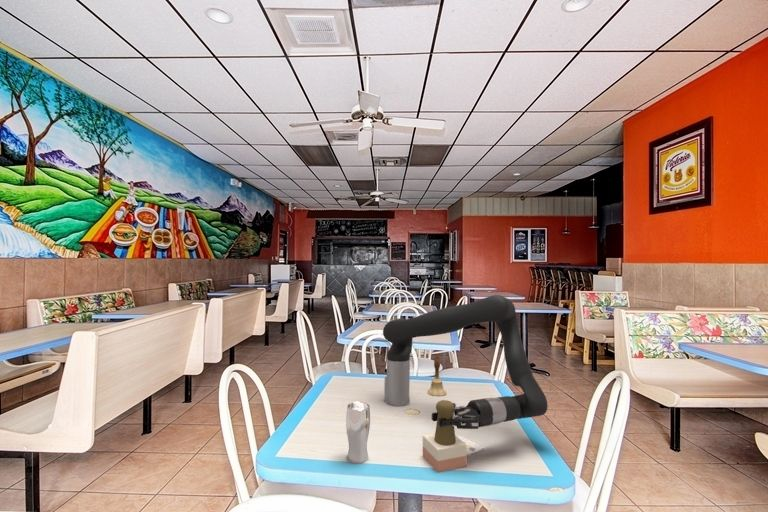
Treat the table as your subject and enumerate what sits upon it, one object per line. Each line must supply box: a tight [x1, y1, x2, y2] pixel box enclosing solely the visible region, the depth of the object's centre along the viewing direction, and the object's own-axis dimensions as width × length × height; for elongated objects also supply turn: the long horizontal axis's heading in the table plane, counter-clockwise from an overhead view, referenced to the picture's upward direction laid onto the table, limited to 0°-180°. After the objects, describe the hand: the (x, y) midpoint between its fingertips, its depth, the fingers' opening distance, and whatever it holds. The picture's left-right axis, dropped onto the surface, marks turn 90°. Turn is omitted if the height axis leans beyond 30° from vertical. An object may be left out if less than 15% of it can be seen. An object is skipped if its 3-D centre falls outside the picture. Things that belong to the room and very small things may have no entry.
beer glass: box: [345, 401, 371, 465], centre depth 111 cm, size 7×7×15 cm
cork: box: [434, 399, 456, 446], centre depth 110 cm, size 6×6×11 cm
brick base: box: [422, 433, 467, 473], centre depth 110 cm, size 9×9×6 cm
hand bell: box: [426, 355, 447, 397], centre depth 167 cm, size 8×8×16 cm
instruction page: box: [457, 435, 485, 457], centre depth 120 cm, size 10×7×1 cm
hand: (435, 419), depth 109 cm, fingers closed on cork, 3 cm apart
